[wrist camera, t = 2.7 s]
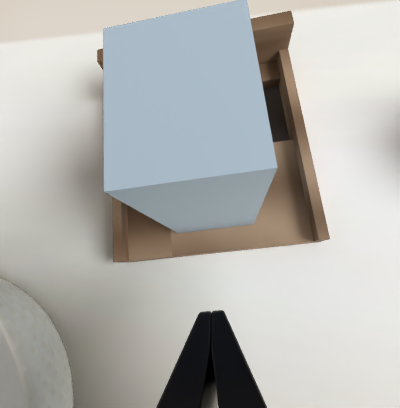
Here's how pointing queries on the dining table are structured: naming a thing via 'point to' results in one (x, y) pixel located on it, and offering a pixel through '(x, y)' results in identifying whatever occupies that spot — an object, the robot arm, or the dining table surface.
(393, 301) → the dining table surface
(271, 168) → the blue block
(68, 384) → the cereal bowl
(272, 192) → the box
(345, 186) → the dining table surface
